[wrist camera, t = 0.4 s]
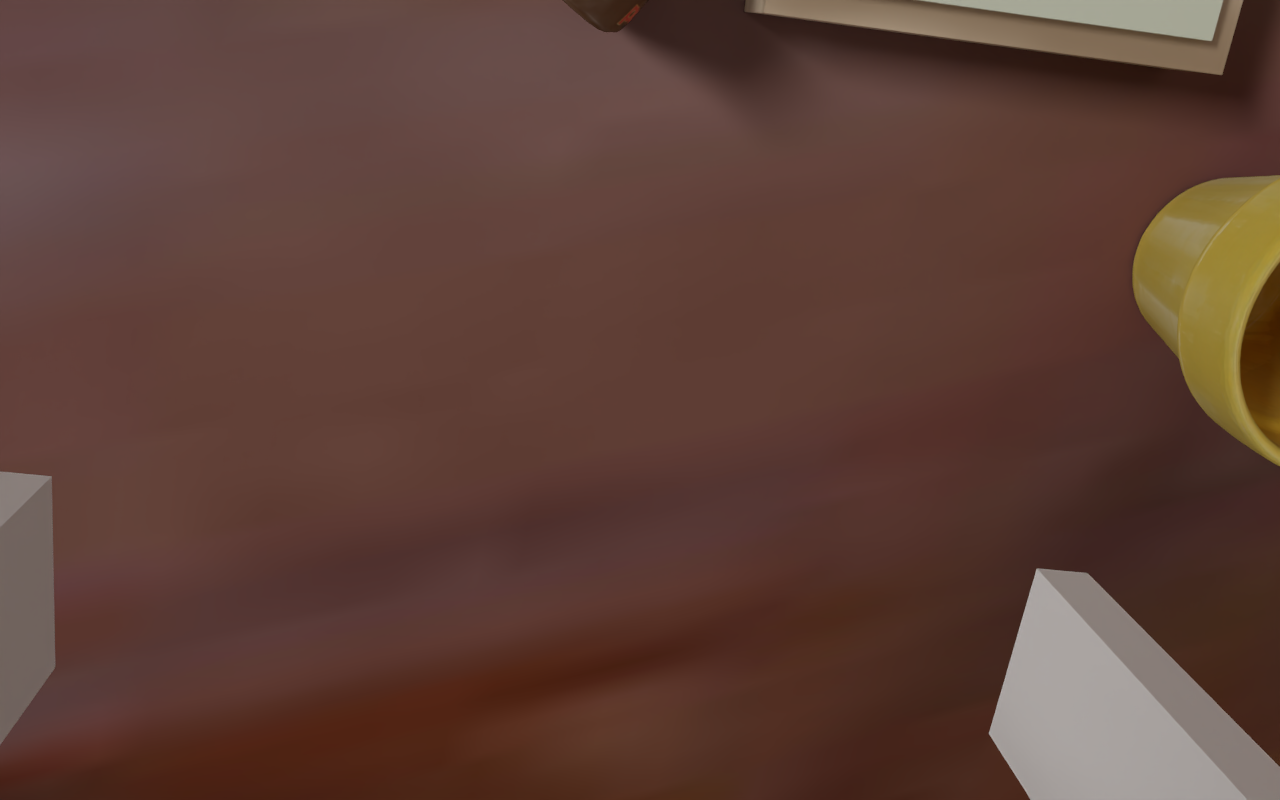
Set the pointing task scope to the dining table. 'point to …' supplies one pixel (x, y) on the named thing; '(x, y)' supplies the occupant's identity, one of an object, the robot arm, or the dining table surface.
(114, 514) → the dining table surface
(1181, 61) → the plinth
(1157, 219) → the plant pot
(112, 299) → the dining table surface
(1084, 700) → the robot arm
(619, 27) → the tin
